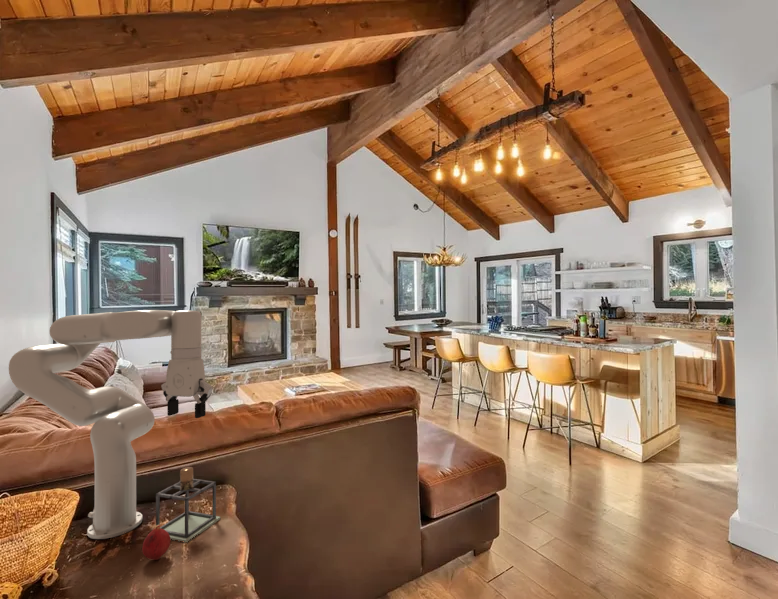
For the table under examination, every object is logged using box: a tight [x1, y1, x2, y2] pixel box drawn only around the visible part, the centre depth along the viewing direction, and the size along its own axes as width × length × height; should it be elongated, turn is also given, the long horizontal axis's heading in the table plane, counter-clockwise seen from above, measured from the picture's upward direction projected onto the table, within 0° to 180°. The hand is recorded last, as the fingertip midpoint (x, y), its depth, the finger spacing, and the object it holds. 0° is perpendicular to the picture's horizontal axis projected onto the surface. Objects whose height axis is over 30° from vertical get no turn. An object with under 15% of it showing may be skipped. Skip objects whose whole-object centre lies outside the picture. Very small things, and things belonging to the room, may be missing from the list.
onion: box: [141, 524, 172, 561], centre depth 93 cm, size 6×6×8 cm
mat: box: [164, 514, 221, 543], centre depth 107 cm, size 12×12×1 cm
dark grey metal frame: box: [155, 466, 217, 538], centre depth 107 cm, size 10×10×15 cm
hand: (186, 415), depth 109 cm, fingers open, 9 cm apart
